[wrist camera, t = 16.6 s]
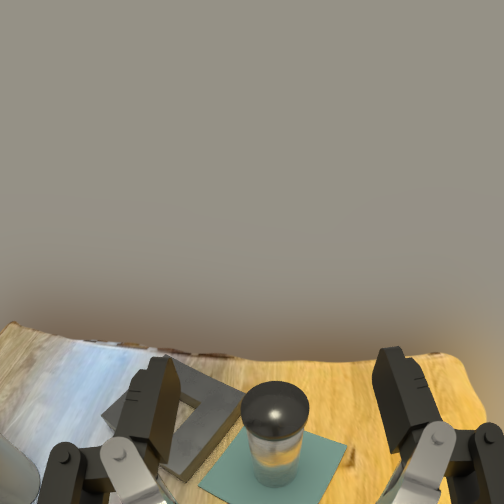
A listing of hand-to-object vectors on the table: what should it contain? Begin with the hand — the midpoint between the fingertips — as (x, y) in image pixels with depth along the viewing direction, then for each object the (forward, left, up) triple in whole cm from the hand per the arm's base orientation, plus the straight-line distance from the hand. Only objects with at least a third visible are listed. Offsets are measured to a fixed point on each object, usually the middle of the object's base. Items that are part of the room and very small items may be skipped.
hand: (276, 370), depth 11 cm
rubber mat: (+5, +3, -28) cm, 28 cm away
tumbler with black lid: (+5, +3, -27) cm, 28 cm away
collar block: (+5, +18, -28) cm, 34 cm away
